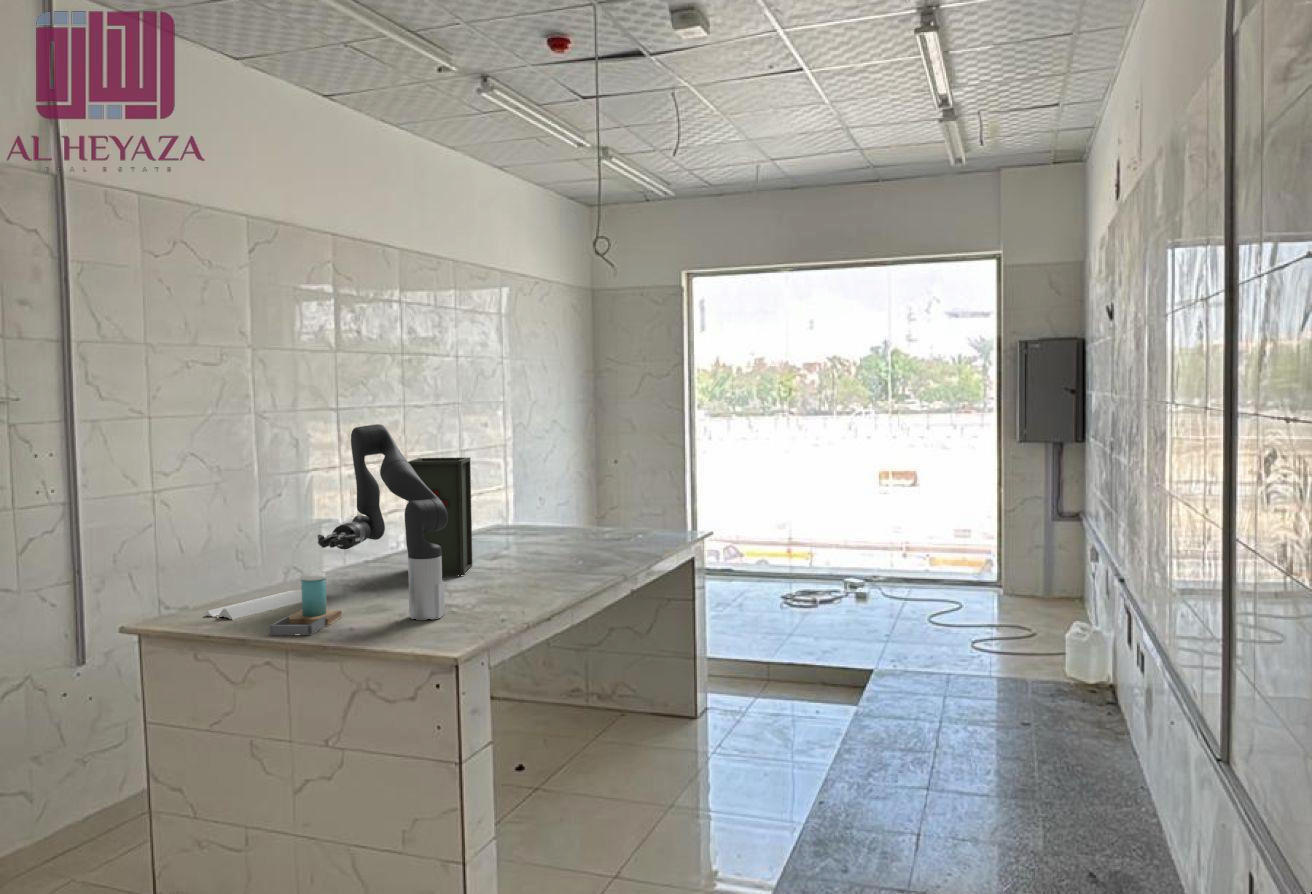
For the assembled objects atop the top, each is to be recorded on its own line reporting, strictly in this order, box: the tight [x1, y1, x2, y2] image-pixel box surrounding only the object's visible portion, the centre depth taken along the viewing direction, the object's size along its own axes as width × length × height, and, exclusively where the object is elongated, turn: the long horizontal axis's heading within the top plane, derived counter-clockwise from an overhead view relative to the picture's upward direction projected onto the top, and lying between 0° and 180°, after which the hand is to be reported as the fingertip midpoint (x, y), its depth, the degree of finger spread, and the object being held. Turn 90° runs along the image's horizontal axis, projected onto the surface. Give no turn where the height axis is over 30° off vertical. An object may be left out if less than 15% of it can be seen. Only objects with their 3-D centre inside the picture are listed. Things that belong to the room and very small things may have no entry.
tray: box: [269, 616, 326, 636], centre depth 254 cm, size 11×10×3 cm
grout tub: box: [299, 572, 328, 617], centre depth 264 cm, size 7×7×11 cm
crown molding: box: [204, 589, 302, 620], centre depth 282 cm, size 31×12×4 cm, turn 154°
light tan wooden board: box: [288, 610, 342, 626], centre depth 263 cm, size 12×10×2 cm
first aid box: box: [407, 457, 473, 577], centre depth 335 cm, size 18×18×40 cm
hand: (327, 544), depth 273 cm, fingers closed
